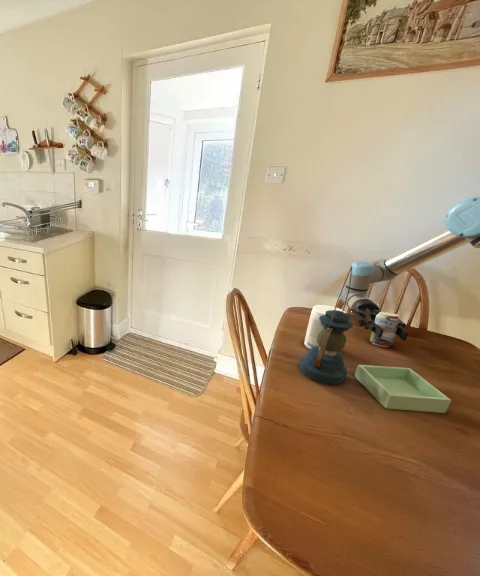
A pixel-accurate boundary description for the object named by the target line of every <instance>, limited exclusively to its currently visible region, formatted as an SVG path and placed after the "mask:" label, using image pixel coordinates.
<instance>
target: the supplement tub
mask: <svg viewBox="0 0 480 576" xmlns="http://www.w3.org/2000/svg"><path fill="white" fill-rule="evenodd" d="M334 309H335V306H333V305H328V304H327V305H326V304H316V305H314V306H313V307H312V310H311V312H310V316H309V320H308V323H307V328H306V333H305V337H304V342H303V343H304V346H305V347H306V348H307V349H308V350H310V349H311V348H312V347H316V346H319V345H318V343H317V336H318V333H319V331H320V330H322V329H324V327H323V325H322V324H321V321H320V320H319V317H320V316H322V315H325V313H326V311H329V310H334ZM336 310H338V311H343V308H342V309H341V308H339V307H336ZM343 312H344V313H346V314H347V312H346V311H345V310H344V311H343Z"/></svg>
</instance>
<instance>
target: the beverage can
mask: <svg viewBox="0 0 480 576" xmlns="http://www.w3.org/2000/svg"><path fill="white" fill-rule="evenodd" d="M399 319H400V318H399V315H398V314H396V313H393V312H388V311H381V312H379V314H377V315H376V318H375V320H374V322H375V323H376V324H377V325H378V326H379V327H380V328H381V329H382V330H383V334H382V336H381V338H380V337H378V336H377V335H376V334H375V333H374V332H373V331H371V334H370V338H369V341H370V342H371V343H372V344H373V345H375V346H378V347H381V348H389V347H392V346H393V345H394V342H395V338H396V336H397V334H396V331H397V327H398V324H399Z"/></svg>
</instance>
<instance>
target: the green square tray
mask: <svg viewBox="0 0 480 576" xmlns="http://www.w3.org/2000/svg"><path fill="white" fill-rule="evenodd" d="M354 373H355V374H354V377H355V379H357V381H359V383H360V384H361V385H362V386H364V388H366V390H367V391H368V392H369V393H370V394H371V395H372V396H373V397H374V398H375V399H376V400H377V401H378V402H379V404H381V405H382V406H383V408H385V409H392V410H402V411H403V410H404V411H415V412H416V411H417V412H427V413H428V412H430V413H439V414H440V413H441V414H446V413H447V411H448V408H449V407H450V404H451V401H452V399H450V398H449V397H448V396H447V395H446V394H444V393H443V392H442V391H440V390H439V389H437V388H436V387H435V386H434V385H433V384H431V383H430V382H428V381H427V379H425V378H424V377H422V376H421V375H420V374H418V373H417V371H414V370H413V369H412V368H411V367H401V366H383V365H371V364H370V365H369V364H358V365H357V368H356V371H355V372H354Z"/></svg>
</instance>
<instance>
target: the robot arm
mask: <svg viewBox="0 0 480 576" xmlns="http://www.w3.org/2000/svg"><path fill="white" fill-rule="evenodd" d="M444 225H445V227H446V228H445V229H443V230H441V231H439V232H437V233H435V234H433V235H431V236H429V237H427V238H425V239H423V240H422V241H421V240H420V241H419V242H417V243H416V244H413V245H411V246H410V247H409V246H408V247H407V248H406V249H403V250H402V251H400V252H397V253H396V254H394V255H392V256H390V257H388V258H386V259H384V260H382V261H380V262H378V263H376V264H374V263H373V262H369V261H361V260H360V261H359V260H358V261H357V260H356V261H354V262H353V263H352V264H351V266H352V275H351V283H350V290H349V294H348V297H347V293H348V289H349V282H350V274H351V271H350V270H349V271H350V273H349V272H348V273H349V276H348V278H347V281H346V283H345V285H344V288H343V290H342V289H341V290H342V293H341V295H340V297H339V299H340V300H341V302H342V303H343V304H345V300H346V297H347V301H346V304H345V306H347V307H348V309H349V312H348V315H349V316H350V318H352V319H353V320H354V321H355V323H356V324H357V325H358V326H359V327H363V326H364V330H369V331H371V332H372V331H373V332H374V333H375V334H376V335H377V336H378V337H380V338H381V336H382V334H383V330H382V329H381V328H380V327H379V326H378V325H377V324H376V323H375V318H376V315H377V314H379V312H382V310H380V308H379V306H378V304H376V303H375V301H373V300H372V299H371V298H369V297H368V296H367V294H368V291H369V288H370V286H371V284H375V283H380V282H387V281H390V280H392V279H395V278H397V277H398V276H399V275H401V274H403V273H405V272H408V271H410V270H411V269H414V268H416V267H419V266H421V265H423V264H425V263H428V262H429V261H432V260H434V259H436V258H438V257H441V256H443V255H446V254H448V253H449V252H450V253H451V252H452V251H454V250H456V249H458V248H461V247H463V246H465V245H467V244H470V245H471V246H472V247H473V248H474V249H480V195H478V196H474V197H473V196H472V197H470V198H466V199H463V200H461V201H459V202H457V203H456V204H454V205H453V206H452V207H451V208H450V209H449V210H448V211H447V213H446V215H445V220H444ZM341 290H339V293H338V295H339V294H340V292H341ZM406 327H407V323H405V322H403V321H402V320H401V319H400V318H399V324H398V327H397V331H396V336H397V337H398V338H400V339H401V341H406V340H407V338H408V336H409V332H407V331H406Z"/></svg>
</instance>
